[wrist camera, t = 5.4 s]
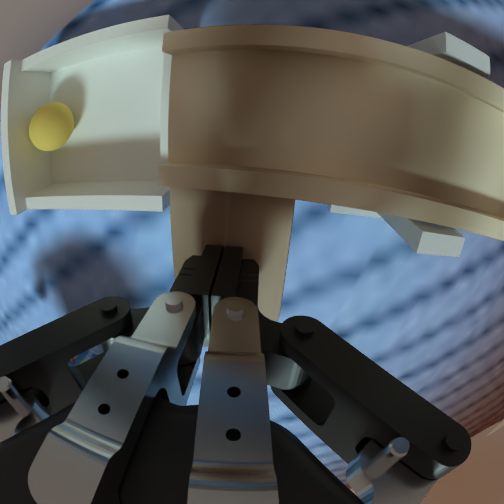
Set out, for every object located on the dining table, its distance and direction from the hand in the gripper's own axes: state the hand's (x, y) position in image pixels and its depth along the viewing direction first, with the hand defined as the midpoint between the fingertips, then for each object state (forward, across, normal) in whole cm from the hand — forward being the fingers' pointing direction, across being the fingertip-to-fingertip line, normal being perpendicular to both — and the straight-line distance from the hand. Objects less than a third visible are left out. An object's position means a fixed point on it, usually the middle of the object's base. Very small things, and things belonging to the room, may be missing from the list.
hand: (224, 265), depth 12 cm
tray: (+6, +9, -6) cm, 13 cm away
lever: (0, -9, -3) cm, 9 cm away
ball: (+5, +13, -6) cm, 15 cm away
